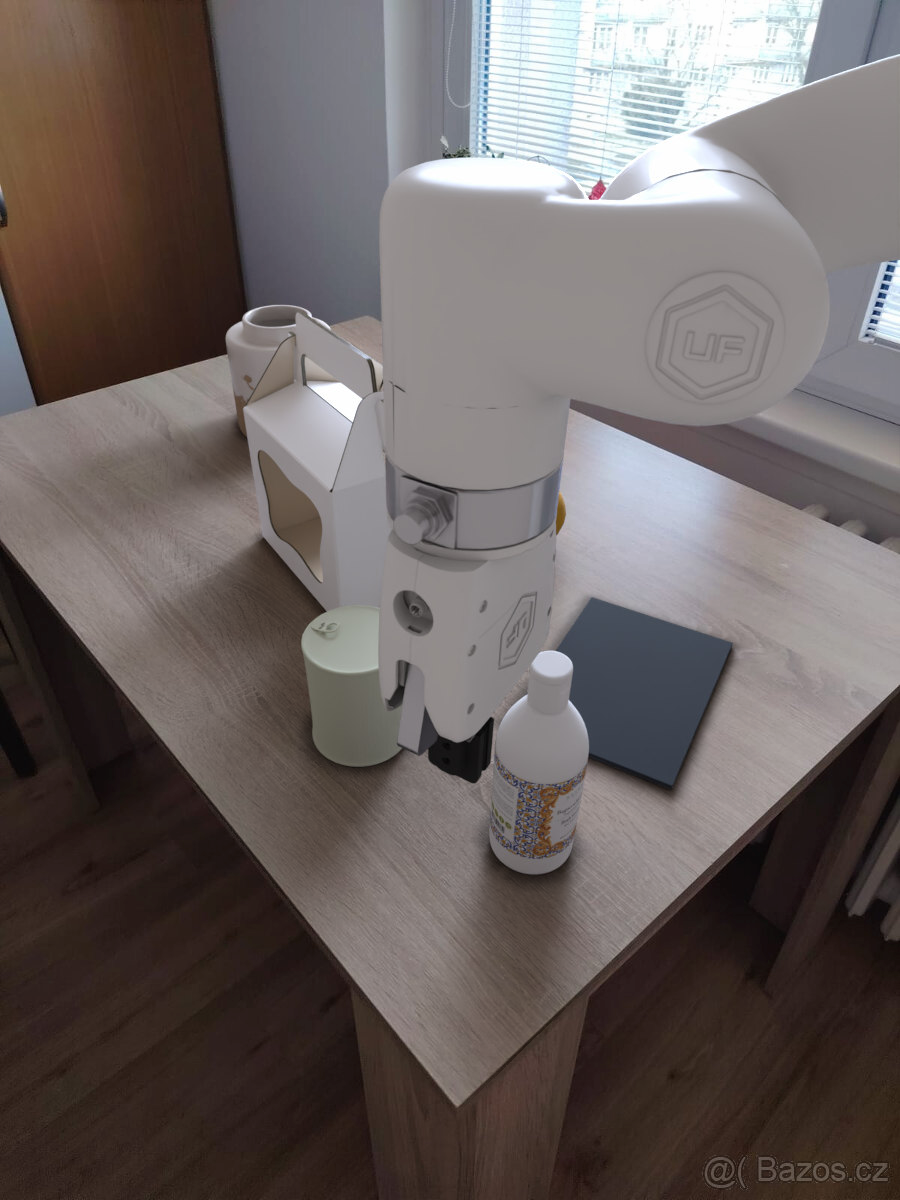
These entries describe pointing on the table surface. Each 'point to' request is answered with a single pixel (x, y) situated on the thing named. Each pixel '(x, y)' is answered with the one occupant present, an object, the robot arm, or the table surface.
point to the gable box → (322, 463)
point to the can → (348, 688)
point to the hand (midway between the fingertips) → (459, 764)
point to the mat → (640, 687)
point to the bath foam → (539, 771)
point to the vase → (257, 348)
